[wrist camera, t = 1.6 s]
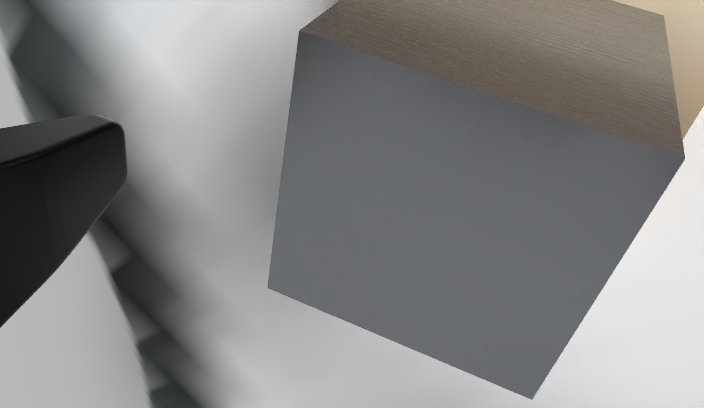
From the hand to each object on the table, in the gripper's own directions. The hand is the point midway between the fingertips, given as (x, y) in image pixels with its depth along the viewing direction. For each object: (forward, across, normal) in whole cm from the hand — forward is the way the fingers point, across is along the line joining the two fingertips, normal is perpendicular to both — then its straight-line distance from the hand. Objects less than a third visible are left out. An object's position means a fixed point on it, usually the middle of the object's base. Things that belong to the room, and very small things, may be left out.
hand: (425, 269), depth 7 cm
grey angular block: (+6, 0, 0) cm, 6 cm away
